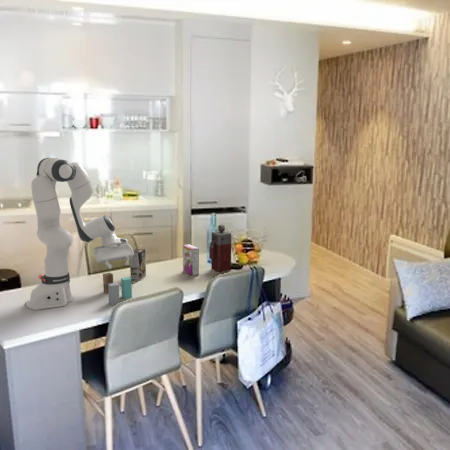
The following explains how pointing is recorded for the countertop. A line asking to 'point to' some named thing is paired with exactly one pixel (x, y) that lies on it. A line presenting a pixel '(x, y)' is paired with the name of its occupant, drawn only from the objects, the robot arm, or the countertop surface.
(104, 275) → the walnut block
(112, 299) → the slate block
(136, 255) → the coffee box
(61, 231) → the robot arm
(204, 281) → the countertop surface
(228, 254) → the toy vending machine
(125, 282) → the teal block
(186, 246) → the candy bar box
